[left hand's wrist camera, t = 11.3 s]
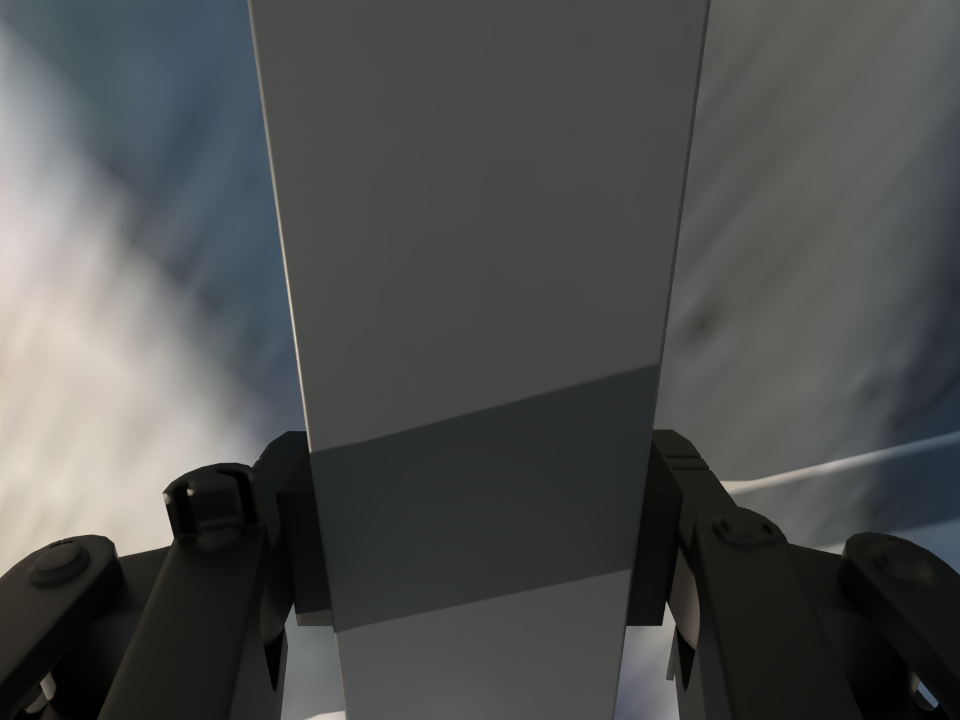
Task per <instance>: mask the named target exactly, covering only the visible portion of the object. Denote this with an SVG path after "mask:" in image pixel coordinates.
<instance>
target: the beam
mask: <svg viewBox="0 0 960 720" xmlns="http://www.w3.org/2000/svg"><path fill="white" fill-rule="evenodd" d="M247 2H248V9H249V16H250V23H251V31H252V38H253V45H254V53H255V60H256V67H257V74H258V82H259V89H260V96H261V104H262V111H263V118H264V125H265V133H266V140H267V147H268V155H269V162H270V169H271V176H272V184H273V191H274V198H275V206H276V213H277V220H278V227H279V235H280V242H281V249H282V257H283V264H284V271H285V278H286V286H287V293H288V300H289V308H290V315H291V322H292V329H293V337H294V344H295V351H296V359H297V366H298V373H299V380H300V388H301V395H302V402H303V410H304V417H305V424H306V431H307V439H308V446H309V453H310V461H311V468H312V475H313V482H314V490H315V497H316V504H317V512H318V519H319V526H320V533H321V541H322V548H323V555H324V562H325V570H326V577H327V584H328V592H329V599H330V606H331V613H332V621H333V628H334V635H335V643H336V650H337V657H338V664H339V672H340V679H341V686H342V694H343V701H344V708H345V715H346V720H614V714H615V706H616V699H617V691H618V684H619V677H620V669H621V662H622V654H623V647H624V639H625V632H626V625H627V617H628V610H629V602H630V595H631V587H632V580H633V572H634V565H635V558H636V550H637V543H638V535H639V528H640V520H641V513H642V506H643V498H644V491H645V483H646V476H647V468H648V461H649V454H650V446H651V439H652V431H653V424H654V416H655V409H656V402H657V394H658V387H659V379H660V372H661V364H662V357H663V349H664V342H665V335H666V327H667V320H668V312H669V305H670V297H671V290H672V283H673V275H674V268H675V260H676V253H677V245H678V238H679V231H680V223H681V216H682V208H683V201H684V193H685V186H686V179H687V171H688V164H689V156H690V149H691V141H692V134H693V126H694V119H695V112H696V104H697V97H698V89H699V82H700V74H701V67H702V60H703V52H704V45H705V37H706V30H707V22H708V15H709V8H710V0H247Z"/></svg>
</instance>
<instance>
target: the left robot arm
mask: <svg viewBox="0 0 960 720" xmlns="http://www.w3.org/2000/svg"><path fill="white" fill-rule="evenodd" d="M163 497H164V501H165V504H166V508H167V512H168V516H169V520H170V524H171V527H172V531H173V535H174V540H173V542H172V545H171V546H167V547H164V548H160V549H156V550H151V551H147V552H142V553H137V554H132V555H128V556H123V557H118V555H117V551H116V548H115V545H114V543H113V542H112V541H111V540H109V539H108V538H107V537H104V536H98V535H84V536H75V537H71V538H66V539H64V540H59V541H56V542H53V543H51V544H49V545H47V546H45V547H43V548H41V549H39V550H37V551H35V552H33V553H31V554H30V555H28V556H27V557H26V558H24V559H23V560H21V561H20V562H19V563H17V564H16V565H14V566H13V567H12V568H11V569H10V570H9V571H8V572H7V573H5V574H4V575H3V576H2V577H1V578H0V720H280V719H281V709H282V699H283V690H284V680H285V670H286V661H287V651H288V644H287V637H286V631H285V626H284V624H285V622H286V619H287V617H288V615H289V612H290V610H291V607H292V605H293V602H294V607H295V613H296V619H297V625H298V626H333V621H332V613H331V606H330V599H329V592H328V584H327V577H326V570H325V562H324V555H323V548H322V541H321V533H320V526H319V519H318V512H317V504H316V497H315V490H314V482H313V475H312V468H311V461H310V453H309V446H308V439H307V431H287V432H286V433H284V434H283V435H281V436H280V437H278V438H277V439H275V440H274V441H272V442H271V443H269V445H268V446H267V447H266V449H265V450H264V452H263V453H262V454H261V456H260V457H259V460H257V461H256V463H255V464H254V465H253V467H252V468H251V467H250V466H248V465H244V464H240V463H218V464H213V465H209V466H204V467H201V468H198V469H196V470H193V471H191V472H188V473H185V474H184V475H182V476H181V477H179V478H178V479H176V480H174V481H173V482H171V483H170V485H169V486H168V487H167V488H166V489H165V490H164V492H163ZM666 601H667V603H668V606H669V608H670V610H671V613H672V615H673V618H674V620H675V622H676V626H675V631H674V637H673V642H672V648H671V653H670V659H669V664H668V670H667V677H666V679H667V680H672V681H673V679H674V674H675V679H676V688H677V698H678V708H679V717H680V720H960V575H959V574H958V573H957V572H956V571H955V570H953V569H952V568H951V567H950V566H949V565H948V564H947V563H945V562H944V561H943V560H941V559H940V558H938V557H937V556H936V555H934V554H933V553H931V552H930V551H928V550H926V549H924V548H922V547H920V546H918V545H916V544H914V543H912V542H910V541H908V540H905V539H902V538H900V537H899V538H898V537H896V536H892V535H888V534H880V533H871V532H867V533H860V534H854V535H853V536H852V537H850V538H849V539H848V540H847V541H846V544H845V547H844V550H843V553H842V555H839V554H834V553H829V552H824V551H819V550H815V549H810V548H805V547H801V546H797V545H793V544H790V543H788V541H787V539H786V537H785V536H784V534H783V533H782V531H781V530H780V529H779V527H778V526H777V525H775V524H774V523H773V522H771V521H770V520H769V519H767V518H766V517H764V516H762V515H760V514H758V513H756V512H753V511H751V510H749V509H746V508H741V507H738V506H737V505H736V504H735V502H734V501H733V500H732V498H731V497H730V495H729V494H728V493H727V491H726V490H725V489H724V487H723V486H722V484H721V483H720V482H719V480H718V479H717V477H716V476H715V475H714V473H713V472H712V471H711V470H709V466H708V465H707V464H706V462H705V461H704V460H703V459H701V455H700V454H699V453H698V451H697V450H696V448H695V447H694V446H693V444H692V443H691V442H690V441H689V440H687V439H686V438H684V437H683V436H681V435H680V434H678V433H677V432H675V431H674V430H653V431H652V439H651V446H650V454H649V461H648V468H647V476H646V483H645V491H644V498H643V506H642V513H641V520H640V528H639V535H638V543H637V550H636V558H635V565H634V572H633V580H632V587H631V595H630V602H629V610H628V617H627V625H626V626H662V623H663V617H664V611H665V605H666ZM920 681H921V682H922V683H923V684H924V685H925V687H926V688H927V689H928V690H929V692H930V693H931V694H932V695H933V696H934V698H935V699H936V700H937V701H938V702H939V704H938V706H937V707H936V708H935V707H933V706H932V705H931V704H930V703H929V702H928V701H927V700H926V699H925V698H924V697H923V695H922V694H921V693H920V692H919V690H918V689H917V687H918V685H919V683H920ZM39 684H41V686H42V689H43V692H42V693H41V694H40V695H39V697H38V698H37V699H36V700H35V702H34V703H32V704H31V705H30V706H29V707H28V708H27V709H26V710H25V709H23V707H22V705H23V704H24V702H25V701H26V700H27V699H28V697H29V696H30V695H31V694H32V693H33V691H34V690H35V689H36V688H37V687H38V685H39Z"/></svg>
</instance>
